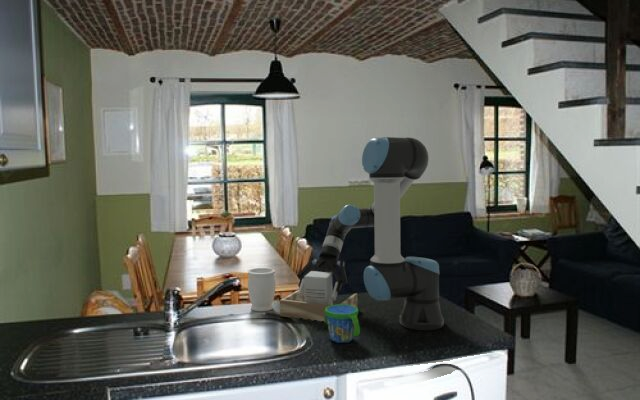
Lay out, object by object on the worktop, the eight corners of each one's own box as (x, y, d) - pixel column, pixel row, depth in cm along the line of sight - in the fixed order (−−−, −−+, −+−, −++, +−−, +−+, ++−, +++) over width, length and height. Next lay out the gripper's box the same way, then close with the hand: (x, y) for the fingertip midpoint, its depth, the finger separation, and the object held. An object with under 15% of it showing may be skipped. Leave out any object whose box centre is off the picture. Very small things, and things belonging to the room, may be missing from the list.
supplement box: (310, 308, 199) (310, 270, 198) (333, 310, 197) (333, 271, 195) (303, 315, 190) (303, 276, 189) (327, 317, 188) (327, 277, 187)
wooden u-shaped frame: (301, 302, 207) (301, 287, 207) (357, 309, 198) (357, 293, 197) (280, 316, 190) (279, 300, 190) (339, 323, 181) (339, 307, 180)
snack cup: (369, 344, 161) (369, 312, 160) (340, 350, 156) (340, 318, 155) (342, 329, 175) (342, 300, 174) (315, 335, 169) (315, 305, 169)
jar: (243, 311, 196) (242, 272, 195) (254, 303, 206) (254, 266, 205) (269, 313, 193) (269, 274, 192) (279, 306, 203) (279, 268, 201)
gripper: (363, 257, 201) (350, 305, 188) (305, 253, 211) (289, 298, 198) (359, 246, 196) (345, 295, 183) (299, 242, 205) (282, 288, 193)
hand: (316, 297), depth 191 cm, fingers open, 13 cm apart
